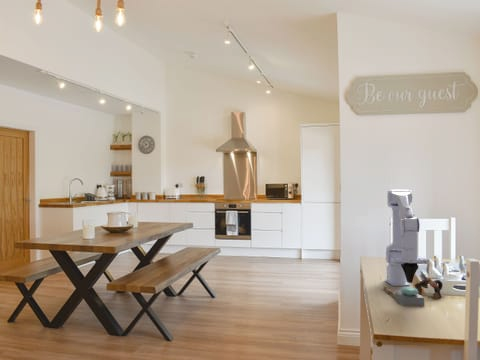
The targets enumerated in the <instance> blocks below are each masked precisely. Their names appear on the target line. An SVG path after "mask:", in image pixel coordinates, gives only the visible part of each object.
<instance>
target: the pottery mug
mask: <svg viewBox="0 0 480 360" xmlns="http://www.w3.org/2000/svg"><path fill="white" fill-rule="evenodd" d="M428 285H430V287H431V288H433V291H434V293H432V296H433V297H434V299H435V300H437V299H439V298H441V297H442V294H441V291H442V289H443V282H442V281H441V280H439V279H435V280H432V279H431V278H430V277H428V278H426V279H422V280H420V281H419V282H416V283H415V284H414V285H413V286H414V288H415V289H417V290H418V293H422V292H423V289H422V288H424V289H429V287H428Z"/></svg>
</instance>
